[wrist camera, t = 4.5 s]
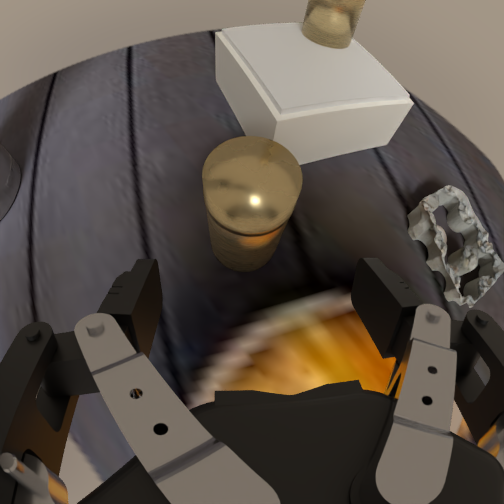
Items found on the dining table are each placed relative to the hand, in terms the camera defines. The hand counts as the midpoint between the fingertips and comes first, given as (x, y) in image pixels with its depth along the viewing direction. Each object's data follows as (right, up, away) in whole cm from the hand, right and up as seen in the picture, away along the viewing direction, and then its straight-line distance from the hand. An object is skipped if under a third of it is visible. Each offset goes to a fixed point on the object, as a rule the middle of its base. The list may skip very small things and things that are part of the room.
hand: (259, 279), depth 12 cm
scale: (+5, +16, +17) cm, 24 cm away
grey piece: (+19, +1, +13) cm, 23 cm away
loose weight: (-1, +2, +11) cm, 12 cm away
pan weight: (+7, +22, +12) cm, 26 cm away
